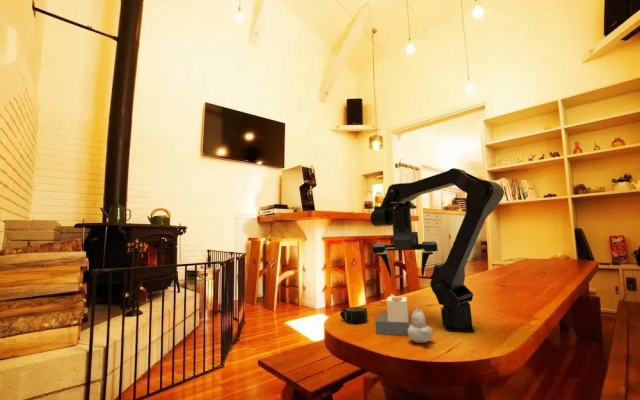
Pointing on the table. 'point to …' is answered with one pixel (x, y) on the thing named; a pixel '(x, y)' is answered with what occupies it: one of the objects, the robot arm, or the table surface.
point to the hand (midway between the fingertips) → (406, 276)
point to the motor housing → (391, 326)
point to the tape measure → (354, 314)
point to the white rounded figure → (419, 328)
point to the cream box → (397, 309)
